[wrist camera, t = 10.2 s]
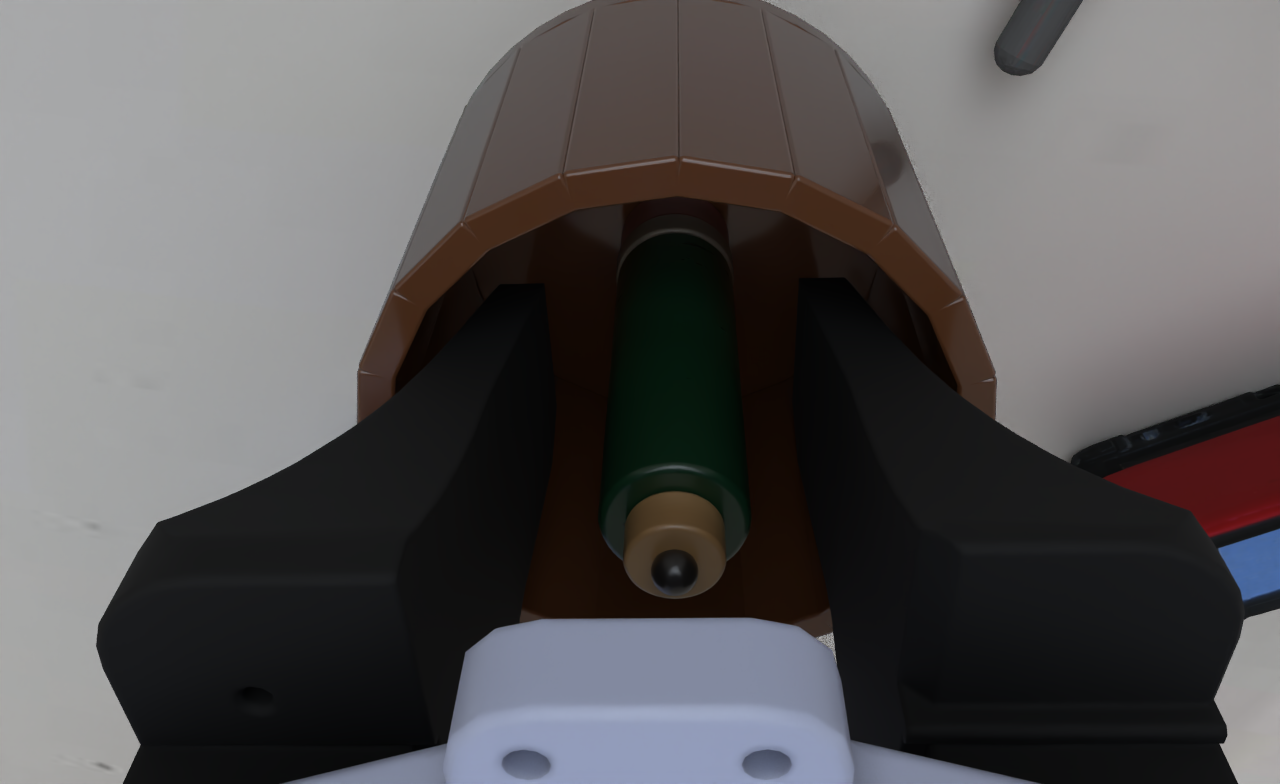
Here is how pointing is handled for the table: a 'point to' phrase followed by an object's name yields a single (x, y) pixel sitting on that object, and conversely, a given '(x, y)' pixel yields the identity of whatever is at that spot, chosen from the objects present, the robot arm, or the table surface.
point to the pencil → (674, 403)
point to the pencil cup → (758, 239)
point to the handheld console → (1213, 482)
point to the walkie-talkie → (1032, 34)
